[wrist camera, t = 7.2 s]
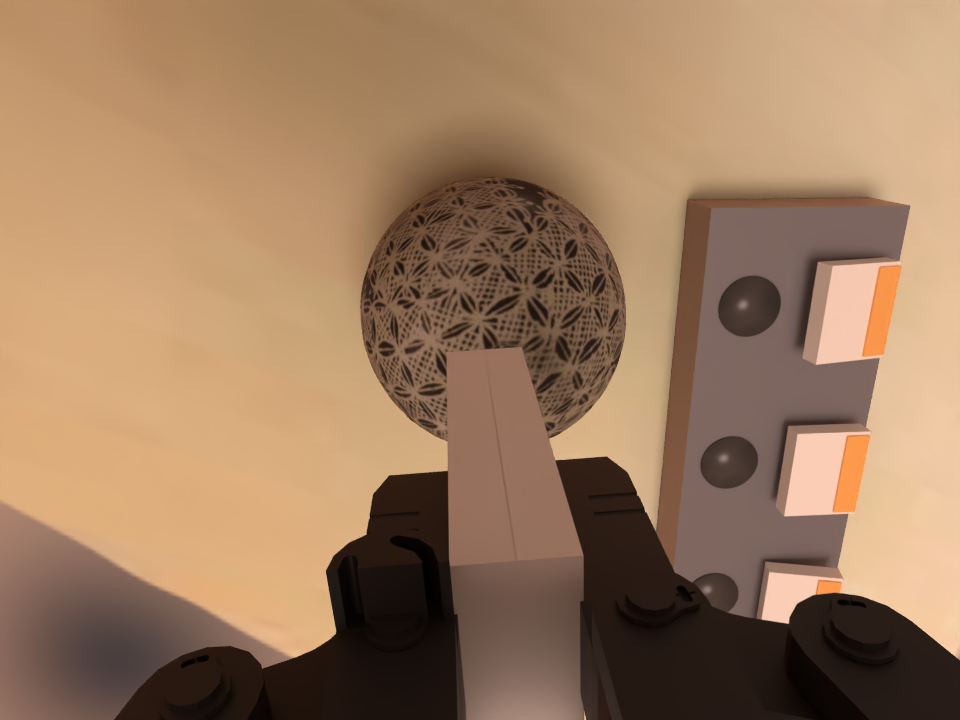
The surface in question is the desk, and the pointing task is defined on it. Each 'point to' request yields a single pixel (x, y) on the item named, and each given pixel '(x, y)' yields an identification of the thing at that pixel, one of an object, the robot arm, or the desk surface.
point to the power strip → (756, 384)
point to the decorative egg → (493, 298)
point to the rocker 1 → (793, 588)
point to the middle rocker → (822, 469)
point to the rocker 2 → (851, 309)
